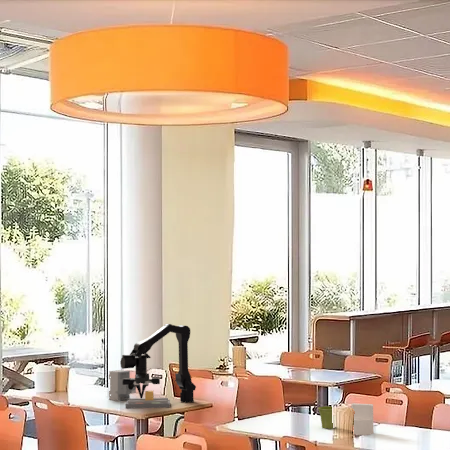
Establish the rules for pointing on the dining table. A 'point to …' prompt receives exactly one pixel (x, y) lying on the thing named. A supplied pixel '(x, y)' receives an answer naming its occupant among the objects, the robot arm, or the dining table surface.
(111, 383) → the circuit breaker
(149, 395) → the toggle
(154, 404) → the panel
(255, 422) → the dining table surface
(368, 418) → the grey upright block
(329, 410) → the plant pot
